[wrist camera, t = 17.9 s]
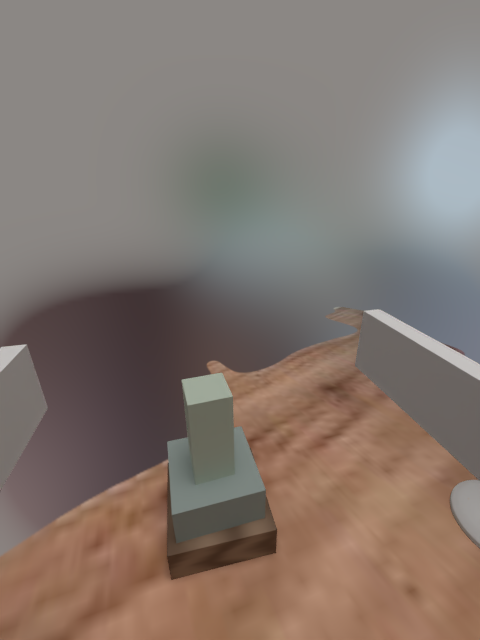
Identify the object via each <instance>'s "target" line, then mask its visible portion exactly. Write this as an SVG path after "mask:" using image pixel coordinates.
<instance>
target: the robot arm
mask: <svg viewBox="0 0 480 640" xmlns="http://www.w3.org/2000/svg"><path fill="white" fill-rule="evenodd" d="M355 366H356V367H357V368H358V369H359V370H360V371H361V372H362V373H364V374H365V375H366V376H367V377H368V378H369V379H370V380H371V381H372V382H373V383H374V384H375V385H377V386H378V387H379V388H380V389H381V390H382V391H383V392H384V393H385V394H386V395H387V396H388V397H390V398H391V399H392V400H393V401H394V402H395V403H396V404H397V405H398V406H399V407H400V408H401V409H403V410H404V411H405V412H406V413H407V414H408V415H409V416H410V417H411V418H412V419H413V420H414V421H416V422H417V423H418V424H419V425H420V426H421V427H422V428H423V429H424V430H425V431H426V432H427V433H429V434H430V435H431V436H432V437H433V438H434V439H435V440H436V441H437V442H438V443H439V444H440V445H442V446H443V447H444V448H445V449H446V450H447V451H448V452H449V453H450V454H451V455H452V456H453V457H455V458H456V459H457V460H458V461H459V462H460V463H461V464H462V465H463V466H464V467H465V468H466V469H468V470H469V471H470V472H471V473H472V474H473V475H474V476H475V477H476V478H477V479H478V480H479V481H480V364H478V363H476V362H475V361H473V360H471V359H469V358H467V357H466V356H464V355H462V354H460V353H458V352H456V351H455V350H453V349H451V348H449V347H447V346H445V345H444V344H442V343H440V342H438V341H436V340H434V339H433V338H431V337H429V336H427V335H425V334H424V333H422V332H420V331H418V330H416V329H414V328H412V327H411V326H409V325H407V324H405V323H403V322H402V321H400V320H398V319H396V318H394V317H392V316H391V315H389V314H387V313H385V312H383V311H382V310H380V309H378V310H369V311H364V313H363V319H362V325H361V332H360V338H359V344H358V350H357V356H356V363H355ZM47 409H48V407H47V404H46V401H45V398H44V395H43V392H42V389H41V386H40V383H39V380H38V377H37V374H36V371H35V368H34V365H33V362H32V359H31V356H30V353H29V350H28V347H27V345H17V346H8V347H2V348H0V491H1V489H2V487H3V486H4V483H5V482H6V480H7V479H8V477H9V475H10V473H11V471H12V470H13V468H14V466H15V465H16V463H17V461H18V459H19V458H20V456H21V454H22V452H23V451H24V449H25V447H26V445H27V444H28V442H29V440H30V438H31V437H32V435H33V433H34V431H35V430H36V428H37V426H38V424H39V423H40V421H41V419H42V417H43V416H44V414H45V412H46V410H47Z"/></svg>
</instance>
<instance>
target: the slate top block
mask: <svg viewBox="0 0 480 640" xmlns="http://www.w3.org/2000/svg"><path fill="white" fill-rule="evenodd" d="M167 443H168V460H169V476H170V493H171V509H172V519H173V526H174V532H175V538H176V543H179V542H183V541H186V540H190V539H193V538H197V537H200V536H204V535H207V534H211V533H214V532H218V531H221V530H225V529H228V528H231V527H235V526H238V525H242V524H245V523H249V522H252V521H256V520H259V519H263V518H265V500H266V489H265V487H264V484H263V482H262V479H261V476H260V474H259V471H258V469H257V466H256V463H255V461H254V458H253V456H252V453H251V450H250V448H249V445H248V443H247V440H246V437H245V435H244V432H243V430H242V427H236V428H234V460H235V474H234V475H230V476H227V477H223V478H219V479H216V480H212V481H209V482H205V483H201V484H198V485H195V480H194V475H193V469H192V464H191V459H190V453H189V444H188V438H183V439H178V440H173V441H169V442H167Z"/></svg>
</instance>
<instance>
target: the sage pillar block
mask: <svg viewBox="0 0 480 640" xmlns="http://www.w3.org/2000/svg"><path fill="white" fill-rule="evenodd" d="M182 387H183V397H184V405H185V415H186V425H187V434H188V444H189V453H190V459H191V464H192V469H193V475H194V480H195V485H198V484H201V483H205V482H209V481H212V480H216V479H219V478H223V477H227V476H230V475H234V474H235V460H234V423H233V396H232V394H231V391H230V389H229V387H228V385H227V383H226V381H225V378H224V376H223V374H222V373H217V374H211V375H207V376H200V377H195V378H189V379H184V380H182Z"/></svg>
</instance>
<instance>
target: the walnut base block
mask: <svg viewBox="0 0 480 640" xmlns="http://www.w3.org/2000/svg"><path fill="white" fill-rule="evenodd" d="M250 450H251V448H250ZM251 453H252V451H251ZM252 456H253V454H252ZM253 458H254V457H253ZM254 461H255V460H254ZM276 537H277V528H276V525H275V522H274V519H273V516H272V513H271V510H270V507H269V504H268V500H267V497H266V500H265V518H263V519H259V520H256V521H252V522H249V523H245V524H242V525H238V526H235V527H231V528H228V529H225V530H221V531H218V532H214V533H211V534H207V535H204V536H200V537H197V538H193V539H190V540H186V541H183V542H179V543H176V538H175V532H174V526H173V519H172V509H171V493H170V476H169V463H168V521H167V557H168V563H169V568H170V574H171V580H173V579H176V578H180V577H184V576H188V575H192V574H196V573H199V572H203V571H207V570H211V569H215V568H219V567H223V566H226V565H230V564H234V563H238V562H242V561H246V560H250V559H253V558H257V557H261V556H265V555H269V554H273V553H276Z"/></svg>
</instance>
